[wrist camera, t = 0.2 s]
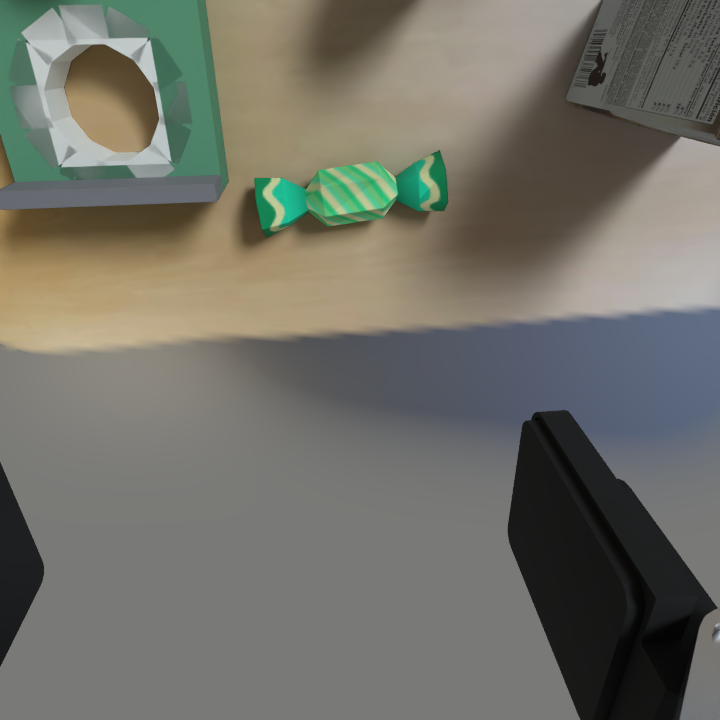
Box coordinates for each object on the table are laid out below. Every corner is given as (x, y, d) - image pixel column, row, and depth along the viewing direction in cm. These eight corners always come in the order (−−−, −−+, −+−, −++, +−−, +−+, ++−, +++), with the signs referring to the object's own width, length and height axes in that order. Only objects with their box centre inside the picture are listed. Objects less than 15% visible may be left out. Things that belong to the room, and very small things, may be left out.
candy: (269, 242, 39) (258, 224, 35) (262, 194, 39) (250, 170, 35) (441, 216, 39) (451, 194, 35) (433, 169, 39) (442, 141, 35)
